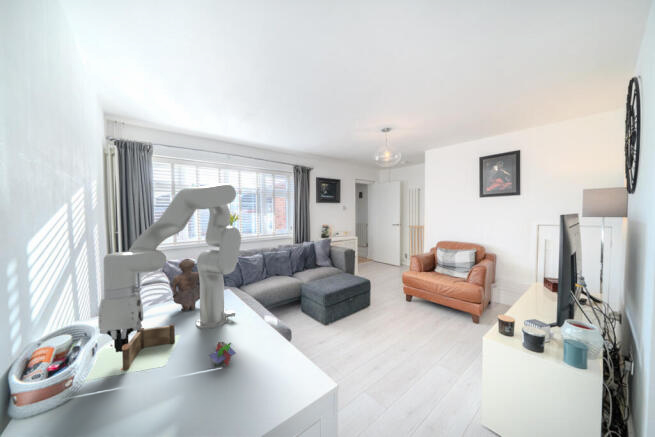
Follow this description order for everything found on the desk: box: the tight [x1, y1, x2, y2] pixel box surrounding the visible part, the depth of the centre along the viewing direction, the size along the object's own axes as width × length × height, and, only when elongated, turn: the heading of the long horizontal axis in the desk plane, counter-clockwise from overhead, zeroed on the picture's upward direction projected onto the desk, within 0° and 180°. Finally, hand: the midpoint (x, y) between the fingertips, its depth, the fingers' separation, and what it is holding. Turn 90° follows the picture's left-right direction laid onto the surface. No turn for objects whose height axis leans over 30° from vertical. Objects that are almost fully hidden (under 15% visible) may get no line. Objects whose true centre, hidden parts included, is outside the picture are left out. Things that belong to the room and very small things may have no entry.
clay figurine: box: [171, 258, 200, 312], centre depth 116 cm, size 13×10×25 cm
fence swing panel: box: [122, 331, 141, 370], centre depth 76 cm, size 12×2×8 cm, turn 21°
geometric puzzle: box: [208, 341, 237, 367], centre depth 75 cm, size 7×7×8 cm
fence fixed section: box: [136, 323, 176, 349], centre depth 84 cm, size 11×2×7 cm, turn 109°
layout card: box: [84, 334, 182, 382], centre depth 79 cm, size 23×20×1 cm
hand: (121, 349), depth 74 cm, fingers closed
